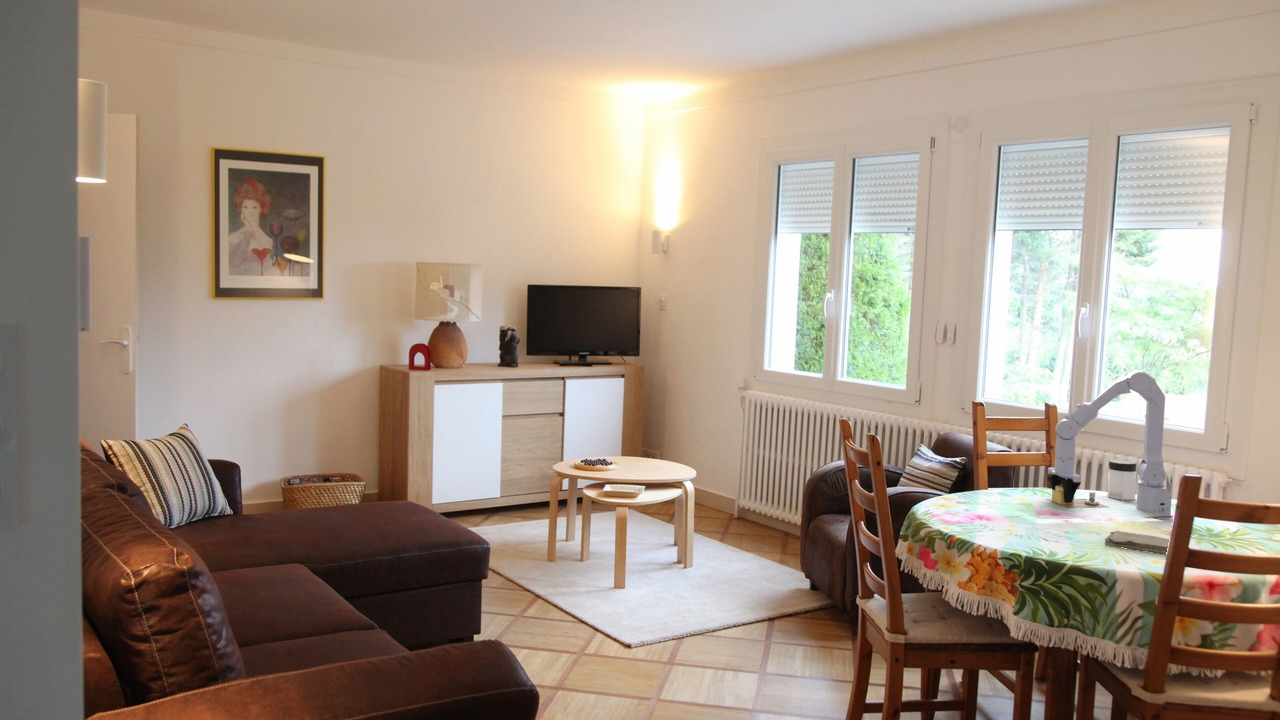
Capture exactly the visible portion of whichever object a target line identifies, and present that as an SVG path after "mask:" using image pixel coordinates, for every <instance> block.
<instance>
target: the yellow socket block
mask: <svg viewBox="0 0 1280 720" xmlns="http://www.w3.org/2000/svg"><path fill="white" fill-rule="evenodd" d="M1051 490H1052V489H1051ZM1051 492H1052V493H1051V499H1052V501H1053V502H1056V503H1059V504H1074V499H1075V496H1074V497H1073V500H1072V503H1065V501H1064V490H1063V486H1062V484H1060V485H1056V486H1055V490H1052V491H1051ZM1053 502H1052V503H1053ZM1056 503H1055V504H1056ZM1059 504H1058V505H1059Z"/></svg>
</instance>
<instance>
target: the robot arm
mask: <svg viewBox="0 0 1280 720" xmlns="http://www.w3.org/2000/svg"><path fill="white" fill-rule="evenodd" d="M1131 390H1132V391H1133V392H1135V393H1137V394H1138V395H1139V396H1141V398H1143V399H1144V401H1146V409H1145V423H1144V425H1145V426H1144V442H1143V453H1142V456H1141V461H1140V463H1139V465H1138V467H1137V473H1138V474H1137V475H1138V476H1139V477H1140V478H1139V480H1137V488H1136V489H1137V492H1136V509H1137V510H1139V511H1144V512H1147V513H1151V514H1154V515H1155V514H1156V515H1158V516H1161V517H1173V516H1174V515H1173V514H1172V511H1171V510H1172V494H1171V492H1170V490H1169V489H1168V488H1166V487H1165V481H1166V478H1167V472H1166V470H1165V467H1164V459H1163V456H1162V455H1163V454H1162V453H1163V439H1164V438H1163V437H1164V423H1165V408H1166V407H1165V405H1166V403H1165V402H1166V395H1165V394H1164V392H1163V391H1162V389H1161V388H1160V386H1159V385H1158V383H1157V381H1156V379H1155V378H1154V377H1152V376H1151V375H1150V374H1149V373H1147V372H1145V371H1141V370H1139V369H1132V370H1129V371H1128V372H1126V373H1125V375H1122V376H1120V377H1119V378H1117V379H1116V380H1115V381H1114V382H1112V383H1111V384H1110V385H1108V387H1106V388H1105V390H1103V391H1101V393H1100V394H1099V395H1097V396H1096V397H1095V398H1094V399H1093V400H1092V401H1091V402H1083V403H1081V404H1080V403H1078V404H1077V405H1076V406H1075V407H1076V408H1075V409H1073V410H1072V412H1070V413H1069V414H1066V415H1064V416H1063V417H1064V418H1063V419H1060V420H1059V421H1058V422H1057V423H1056V425H1055V427H1054V430H1055V433H1056V438H1055V445H1054V447H1055V452H1054V467H1048V468H1047V474H1049V475H1048V476H1047V477H1046V478H1047V480H1048V482H1049V483H1050V487H1051V490H1055V486H1056V485H1060V484H1062V486H1063V490H1064V501H1065V503H1072V500H1073V497H1074V498H1075V494H1076V492H1077V490H1078V488H1079V486H1080V485H1081V483H1082V476H1081V475H1079V474H1078V473H1076V472H1075V463H1076V462H1075V461H1076V437H1077V436H1078V433H1079V431H1080V430H1082V429H1084V428H1085V427H1087V425H1089V424H1090V423H1091V422H1092V421H1093V420H1095V419H1096V418H1097V417H1098V415H1099V414H1098V411H1099V410H1100V409H1103V407H1105V406H1106V405H1108V403H1110V402H1111V401H1113V400H1115V398H1117V397H1118V396H1120V395H1125V394H1131V393H1132V392H1131ZM1171 514H1172V516H1171Z"/></svg>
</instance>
